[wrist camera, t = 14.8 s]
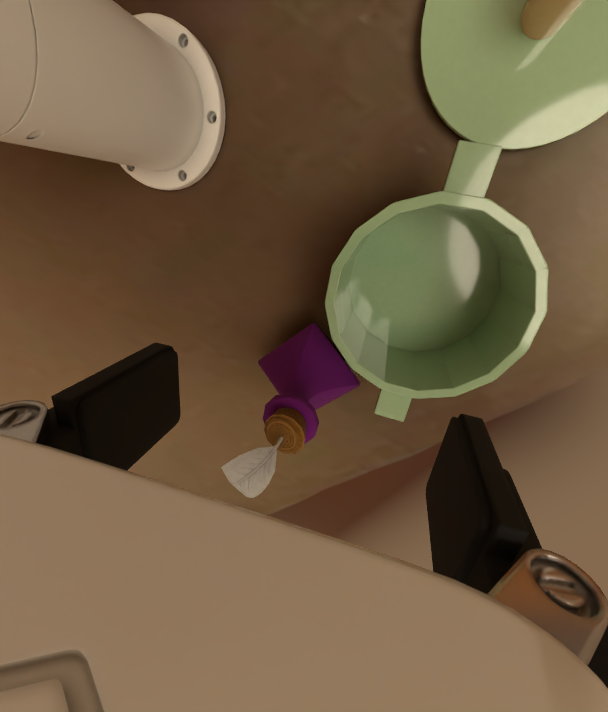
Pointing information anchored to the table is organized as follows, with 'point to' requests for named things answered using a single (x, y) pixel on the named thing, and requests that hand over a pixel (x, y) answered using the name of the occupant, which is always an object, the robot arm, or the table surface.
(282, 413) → the purple potion bottle
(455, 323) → the pot
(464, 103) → the lid
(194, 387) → the table surface
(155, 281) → the table surface
